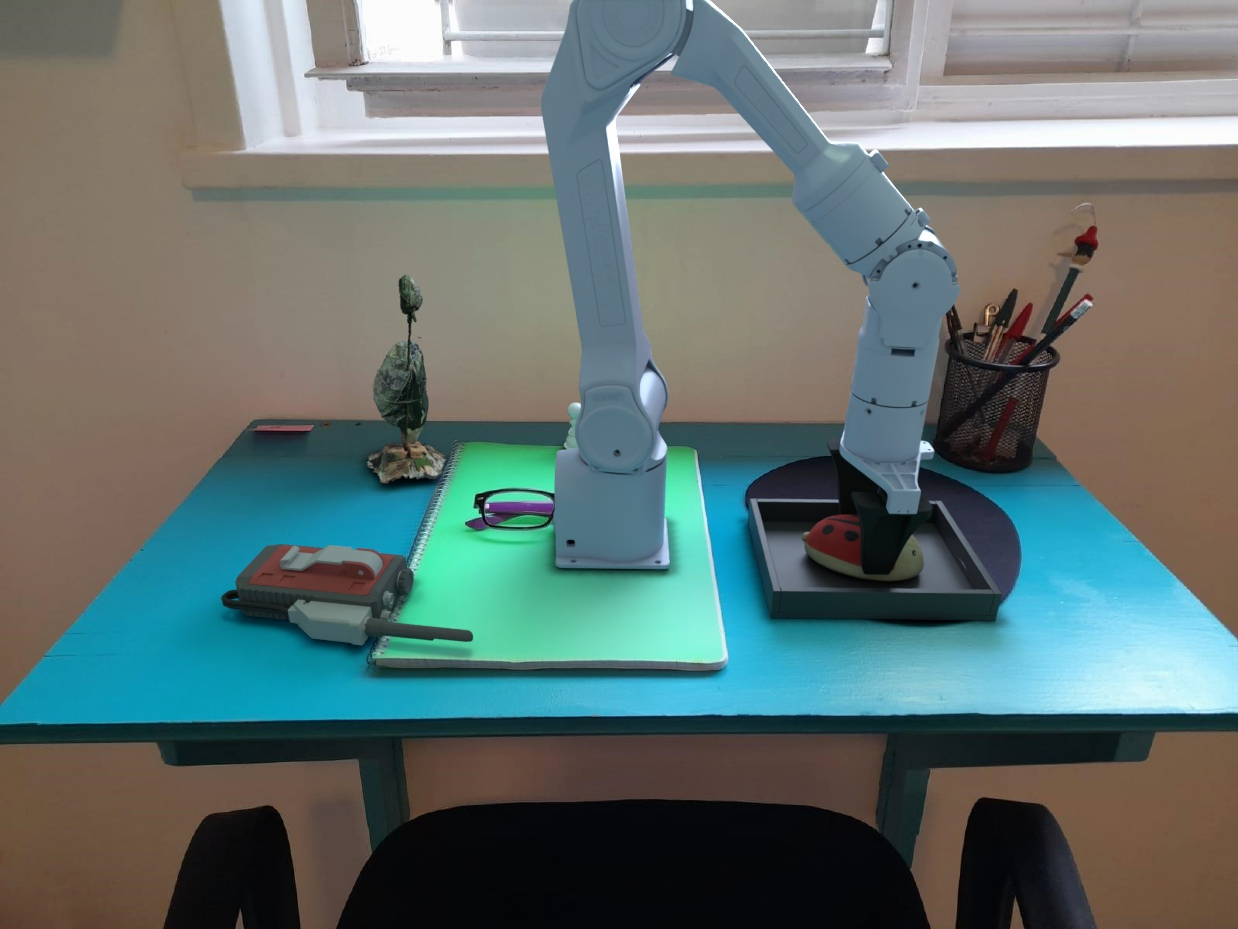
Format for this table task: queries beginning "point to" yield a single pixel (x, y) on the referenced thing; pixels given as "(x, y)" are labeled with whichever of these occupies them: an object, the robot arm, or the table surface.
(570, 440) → the chess pawn
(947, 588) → the tray
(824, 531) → the ladybug figurine
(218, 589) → the table surface
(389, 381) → the plant with pod
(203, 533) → the table surface
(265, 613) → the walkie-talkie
